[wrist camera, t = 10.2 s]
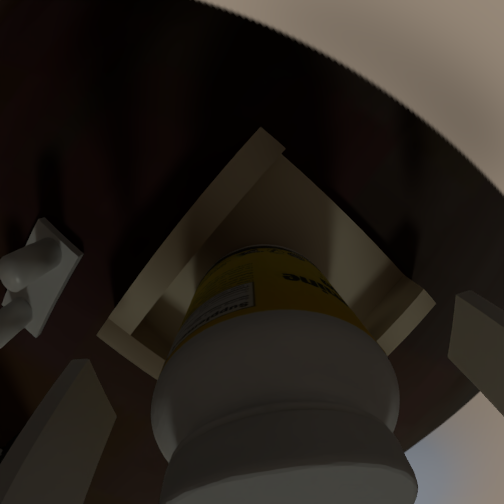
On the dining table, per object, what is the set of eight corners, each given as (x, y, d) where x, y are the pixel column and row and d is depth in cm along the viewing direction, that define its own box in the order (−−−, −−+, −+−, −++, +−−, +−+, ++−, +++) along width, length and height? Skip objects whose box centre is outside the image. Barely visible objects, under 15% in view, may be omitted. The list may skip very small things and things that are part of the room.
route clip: (7, 300, 15) (-32, 328, 11) (44, 217, 14) (-4, 232, 10) (40, 333, 15) (6, 368, 11) (83, 253, 14) (42, 280, 10)
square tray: (273, 416, 17) (278, 447, 15) (114, 311, 15) (96, 335, 12) (410, 284, 15) (436, 303, 13) (256, 134, 13) (260, 126, 11)
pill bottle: (351, 316, 15) (475, 496, 4) (248, 382, 15) (255, 587, 5) (278, 211, 14) (396, 324, 3) (167, 292, 14) (51, 491, 3)
